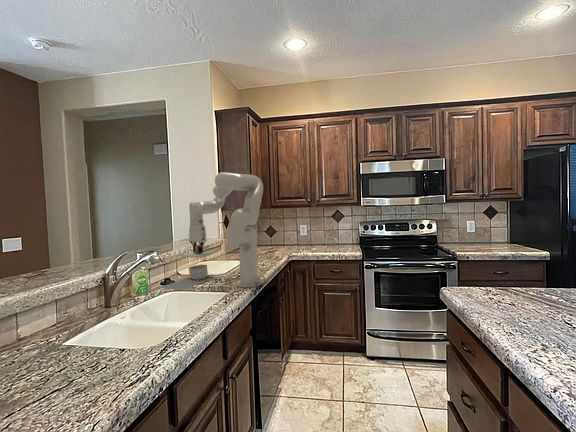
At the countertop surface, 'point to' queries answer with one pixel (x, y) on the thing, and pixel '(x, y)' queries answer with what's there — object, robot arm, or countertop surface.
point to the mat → (180, 285)
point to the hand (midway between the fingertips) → (198, 252)
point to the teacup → (198, 272)
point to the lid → (198, 253)
